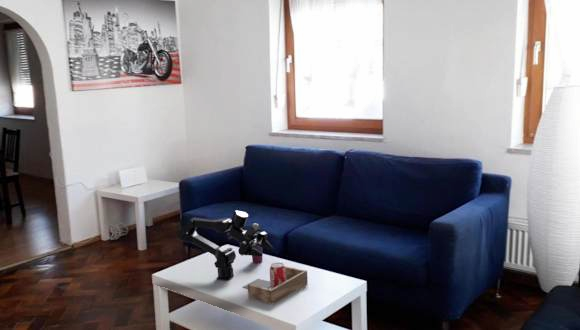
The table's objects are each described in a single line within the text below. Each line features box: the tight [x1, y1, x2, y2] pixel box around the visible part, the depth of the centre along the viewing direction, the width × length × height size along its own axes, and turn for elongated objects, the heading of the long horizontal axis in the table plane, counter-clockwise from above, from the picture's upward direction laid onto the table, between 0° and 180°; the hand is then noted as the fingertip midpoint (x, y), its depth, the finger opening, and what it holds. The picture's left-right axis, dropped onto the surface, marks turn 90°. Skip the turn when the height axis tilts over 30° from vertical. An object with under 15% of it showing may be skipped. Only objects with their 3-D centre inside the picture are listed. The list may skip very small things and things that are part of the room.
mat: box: [242, 278, 271, 290], centre depth 250 cm, size 11×11×1 cm
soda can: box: [269, 262, 287, 289], centre depth 242 cm, size 7×7×12 cm
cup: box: [251, 231, 263, 264], centre depth 280 cm, size 7×7×15 cm
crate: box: [247, 265, 309, 305], centre depth 243 cm, size 13×26×6 cm, turn 144°
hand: (267, 252), depth 247 cm, fingers open, 9 cm apart
